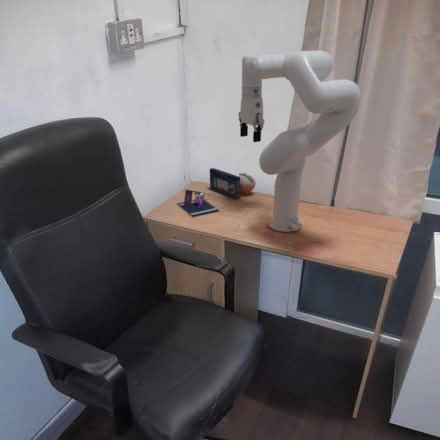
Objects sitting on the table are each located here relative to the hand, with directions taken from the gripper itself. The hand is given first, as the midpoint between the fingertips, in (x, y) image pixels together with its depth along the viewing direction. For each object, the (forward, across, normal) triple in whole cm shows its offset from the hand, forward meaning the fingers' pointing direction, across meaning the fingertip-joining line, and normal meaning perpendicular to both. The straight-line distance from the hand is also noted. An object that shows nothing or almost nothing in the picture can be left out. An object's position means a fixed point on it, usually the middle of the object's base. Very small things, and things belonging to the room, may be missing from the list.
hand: (250, 138), depth 166 cm
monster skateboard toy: (+28, +11, +20) cm, 36 cm away
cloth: (+28, +10, +20) cm, 36 cm away
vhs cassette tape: (+28, +18, +2) cm, 34 cm away
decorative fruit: (+28, +13, -6) cm, 32 cm away
